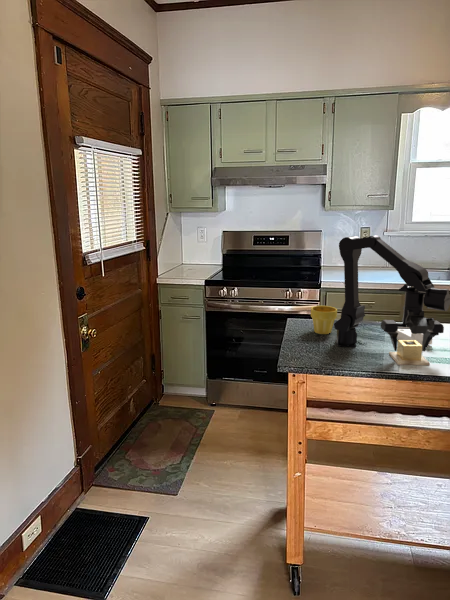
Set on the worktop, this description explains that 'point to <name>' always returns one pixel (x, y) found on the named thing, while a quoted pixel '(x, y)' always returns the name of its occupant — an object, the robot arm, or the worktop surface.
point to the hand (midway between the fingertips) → (409, 350)
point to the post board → (408, 362)
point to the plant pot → (323, 318)
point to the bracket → (410, 336)
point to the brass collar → (409, 350)
